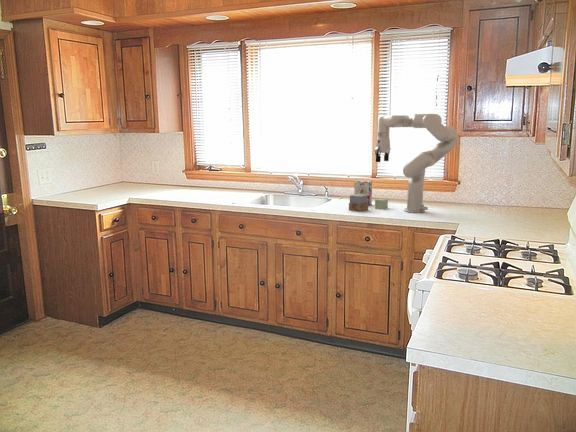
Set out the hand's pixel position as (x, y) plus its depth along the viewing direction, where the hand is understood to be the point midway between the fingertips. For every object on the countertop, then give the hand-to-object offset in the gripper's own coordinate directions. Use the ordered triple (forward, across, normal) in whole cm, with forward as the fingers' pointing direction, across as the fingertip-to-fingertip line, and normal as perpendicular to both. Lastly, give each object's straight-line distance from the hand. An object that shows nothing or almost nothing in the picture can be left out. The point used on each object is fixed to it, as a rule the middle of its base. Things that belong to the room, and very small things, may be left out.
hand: (382, 161), depth 331 cm
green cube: (+31, -2, -2) cm, 31 cm away
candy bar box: (+31, +2, +15) cm, 34 cm away
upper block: (+26, -17, +6) cm, 32 cm away
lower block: (+31, -17, +6) cm, 36 cm away
